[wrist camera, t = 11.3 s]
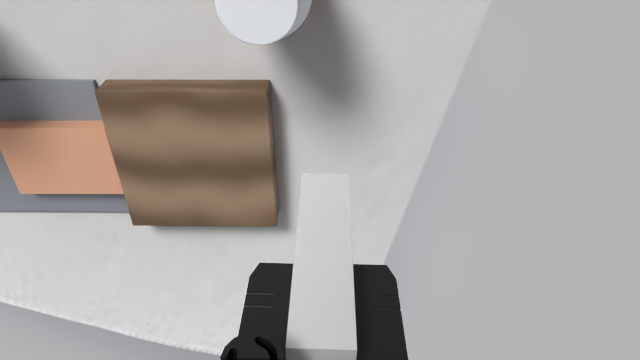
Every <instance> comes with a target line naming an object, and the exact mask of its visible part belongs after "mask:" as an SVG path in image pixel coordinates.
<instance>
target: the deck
mask: <svg viewBox="0 0 640 360" xmlns="http://www.w3.org/2000/svg"><path fill="white" fill-rule="evenodd" d="M95 96H96V99H97V103H98V106H99V110H100V113H101V116H102V120H103V123H104V127H105V130H106V134H107V137H108V140H109V144H110V147H111V151H112V154H113V158H114V161H115V165H116V168H117V171H118V175H119V178H120V182H121V185H122V189H123V192H124V195H125V199H126V202H127V206H128V209H129V213H130V216H131V220H132V223H133V225H155V226H277V219H278V212H279V207H278V193H277V178H276V164H275V150H274V136H273V121H272V107H271V93H270V80H106V81H105V82H104V83H103V84H102V85H101V86H100V87H99V88H98V89H97V90H96V91H95Z"/></svg>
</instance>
